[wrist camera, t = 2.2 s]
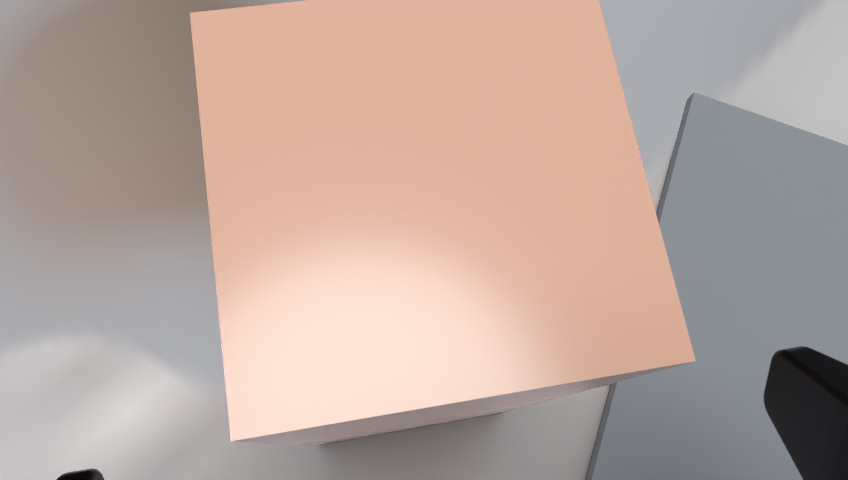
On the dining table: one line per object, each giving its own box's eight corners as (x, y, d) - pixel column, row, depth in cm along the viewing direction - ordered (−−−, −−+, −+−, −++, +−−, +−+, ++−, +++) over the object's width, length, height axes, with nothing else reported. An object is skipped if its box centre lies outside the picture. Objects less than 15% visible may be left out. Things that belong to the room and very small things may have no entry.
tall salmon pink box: (503, 412, 19) (695, 360, 8) (317, 444, 19) (231, 441, 7) (469, 236, 21) (591, -30, 9) (294, 261, 20) (190, 13, 9)
